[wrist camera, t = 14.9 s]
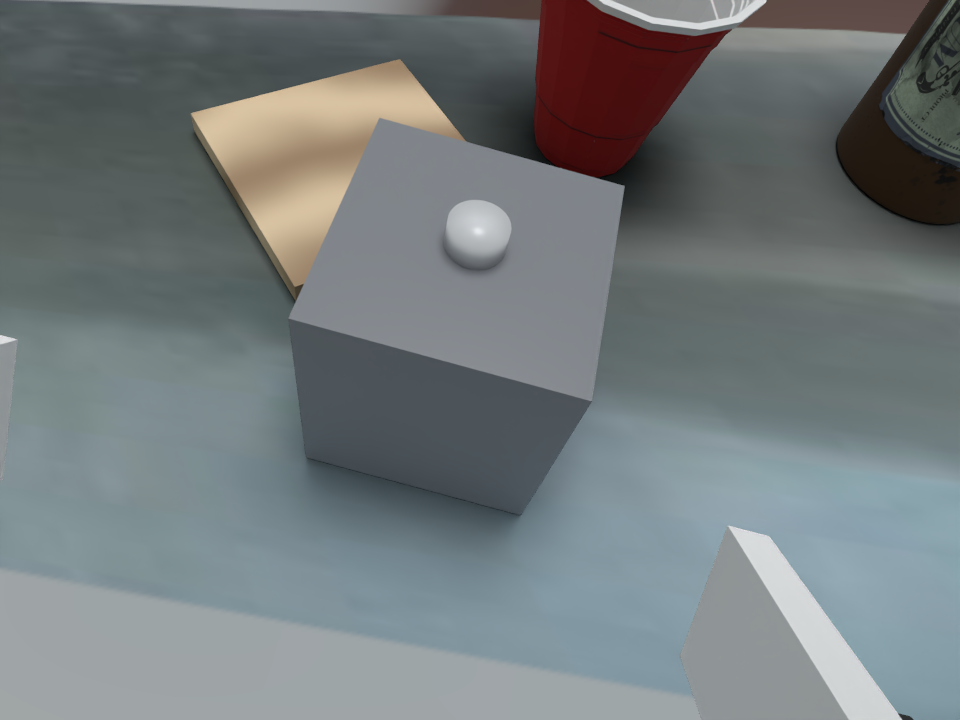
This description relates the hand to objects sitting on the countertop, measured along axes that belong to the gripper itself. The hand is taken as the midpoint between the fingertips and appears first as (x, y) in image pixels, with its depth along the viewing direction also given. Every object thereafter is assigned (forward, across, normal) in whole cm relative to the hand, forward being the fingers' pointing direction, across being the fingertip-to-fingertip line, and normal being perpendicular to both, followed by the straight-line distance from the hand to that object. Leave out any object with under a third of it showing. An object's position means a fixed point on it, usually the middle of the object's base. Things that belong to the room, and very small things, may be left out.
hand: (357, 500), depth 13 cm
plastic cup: (+31, +4, +9) cm, 33 cm away
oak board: (+26, -7, +5) cm, 27 cm away
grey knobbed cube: (+18, 0, -3) cm, 18 cm away
